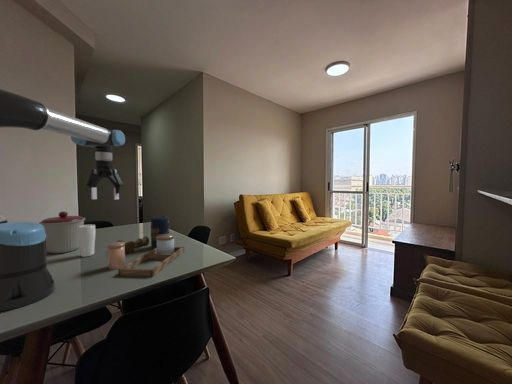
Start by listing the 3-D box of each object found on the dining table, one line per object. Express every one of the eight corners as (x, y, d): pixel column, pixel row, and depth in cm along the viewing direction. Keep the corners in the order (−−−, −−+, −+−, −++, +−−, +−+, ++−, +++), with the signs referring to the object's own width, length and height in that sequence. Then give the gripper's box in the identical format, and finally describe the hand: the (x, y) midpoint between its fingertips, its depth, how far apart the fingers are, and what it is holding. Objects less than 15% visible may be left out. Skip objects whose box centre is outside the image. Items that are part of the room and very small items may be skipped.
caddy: (152, 276, 79) (152, 270, 79) (118, 275, 80) (118, 269, 80) (184, 251, 108) (184, 247, 108) (158, 251, 109) (158, 246, 109)
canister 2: (152, 245, 119) (152, 214, 118) (170, 243, 122) (169, 213, 121) (149, 250, 110) (148, 217, 109) (168, 248, 113) (168, 216, 112)
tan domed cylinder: (118, 270, 85) (117, 246, 85) (104, 269, 85) (103, 246, 85) (129, 264, 91) (128, 242, 91) (115, 263, 92) (114, 241, 91)
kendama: (153, 246, 119) (117, 256, 101) (141, 244, 123) (106, 254, 105) (152, 236, 119) (117, 244, 101) (141, 234, 123) (105, 242, 105)
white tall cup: (99, 253, 105) (98, 224, 105) (87, 258, 98) (86, 227, 98) (87, 252, 106) (86, 224, 105) (74, 257, 99) (73, 227, 98)
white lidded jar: (169, 258, 98) (169, 238, 97) (152, 258, 98) (152, 237, 98) (177, 252, 106) (177, 233, 106) (162, 252, 107) (161, 233, 107)
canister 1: (76, 243, 122) (75, 208, 121) (93, 248, 114) (92, 210, 113) (33, 253, 105) (31, 212, 104) (49, 258, 97) (47, 215, 96)
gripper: (130, 161, 113) (131, 199, 114) (90, 161, 116) (91, 198, 117) (119, 159, 106) (120, 200, 107) (77, 160, 109) (78, 199, 110)
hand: (105, 199), depth 112 cm, fingers open, 13 cm apart
